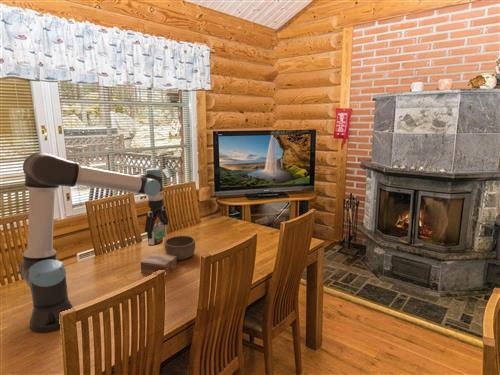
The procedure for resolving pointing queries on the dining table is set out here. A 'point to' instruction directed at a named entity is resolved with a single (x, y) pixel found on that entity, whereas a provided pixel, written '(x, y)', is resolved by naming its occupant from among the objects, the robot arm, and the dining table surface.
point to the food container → (157, 233)
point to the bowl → (180, 246)
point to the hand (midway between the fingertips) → (158, 240)
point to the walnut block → (158, 263)
